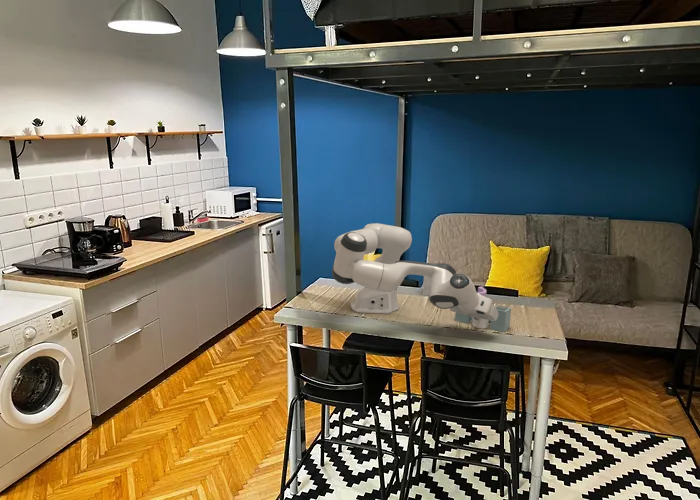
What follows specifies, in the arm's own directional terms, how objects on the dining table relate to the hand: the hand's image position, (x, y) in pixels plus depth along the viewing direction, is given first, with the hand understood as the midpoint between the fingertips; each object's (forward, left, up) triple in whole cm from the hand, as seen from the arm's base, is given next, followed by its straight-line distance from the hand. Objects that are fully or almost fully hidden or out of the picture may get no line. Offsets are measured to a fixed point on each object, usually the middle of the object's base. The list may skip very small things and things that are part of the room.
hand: (476, 318), depth 210 cm
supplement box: (-3, +48, -5) cm, 48 cm away
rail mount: (+5, +5, -4) cm, 9 cm away
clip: (+10, +31, -5) cm, 33 cm away
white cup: (+3, +3, -5) cm, 6 cm away
